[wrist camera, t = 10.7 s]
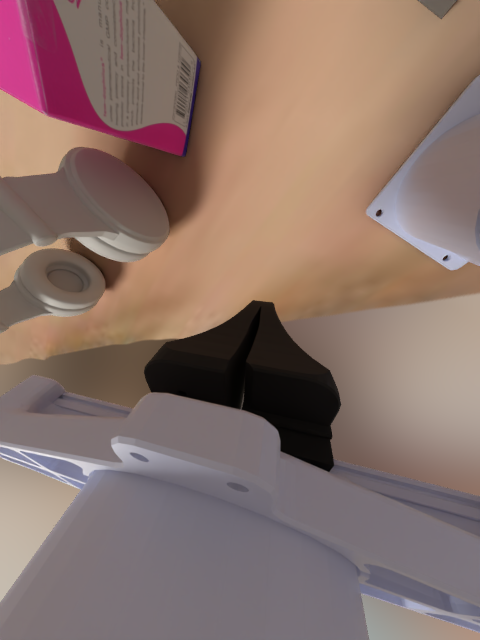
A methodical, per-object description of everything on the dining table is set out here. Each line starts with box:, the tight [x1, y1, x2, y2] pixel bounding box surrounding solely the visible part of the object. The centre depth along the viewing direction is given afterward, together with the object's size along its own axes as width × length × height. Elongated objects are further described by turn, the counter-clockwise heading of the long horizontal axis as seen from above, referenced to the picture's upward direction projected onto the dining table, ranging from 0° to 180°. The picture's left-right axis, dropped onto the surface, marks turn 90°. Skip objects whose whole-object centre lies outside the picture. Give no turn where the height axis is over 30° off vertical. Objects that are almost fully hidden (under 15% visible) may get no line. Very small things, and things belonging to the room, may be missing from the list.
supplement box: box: [0, 0, 201, 157], centre depth 10 cm, size 6×6×12 cm
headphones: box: [0, 147, 170, 333], centre depth 16 cm, size 20×8×19 cm, turn 124°
